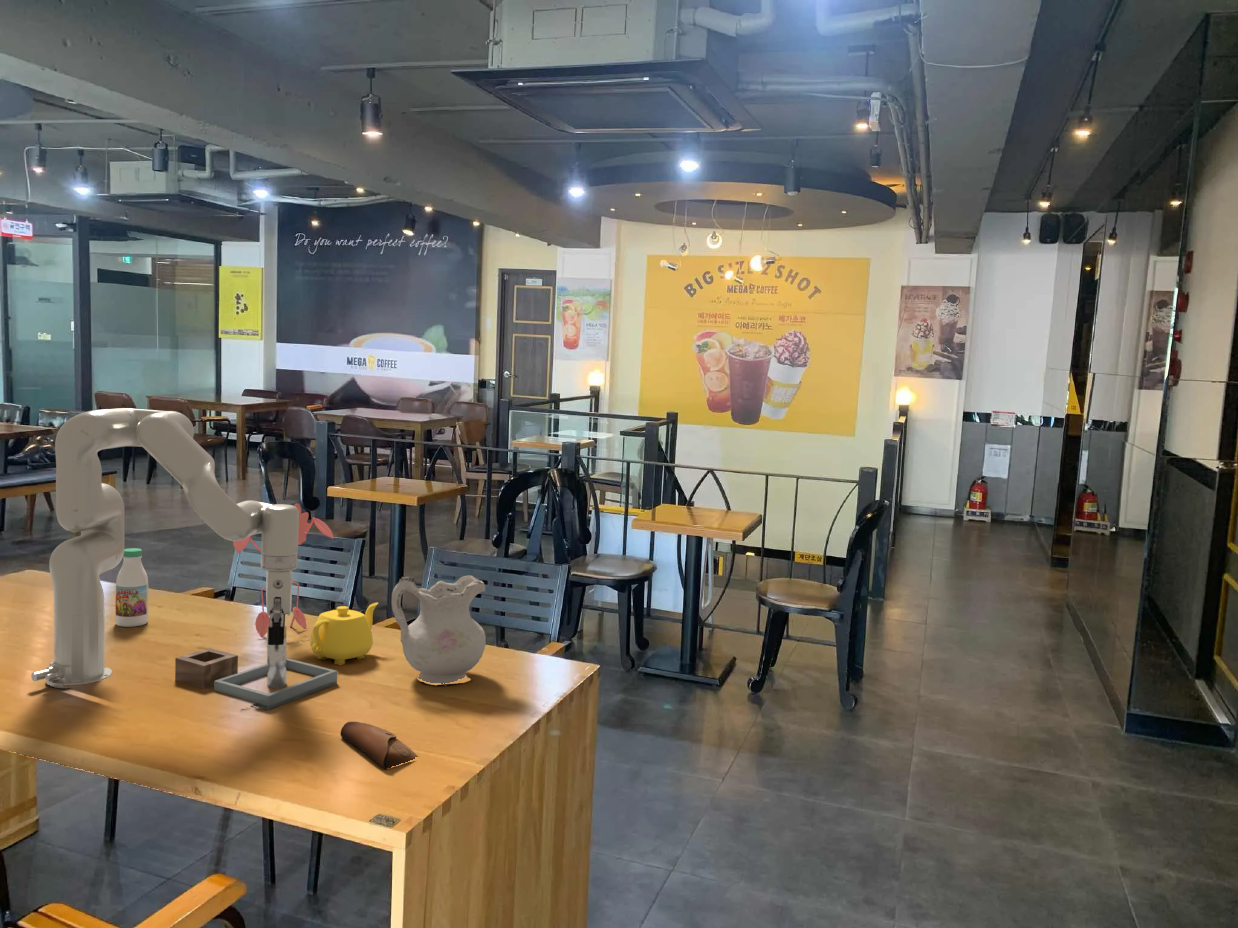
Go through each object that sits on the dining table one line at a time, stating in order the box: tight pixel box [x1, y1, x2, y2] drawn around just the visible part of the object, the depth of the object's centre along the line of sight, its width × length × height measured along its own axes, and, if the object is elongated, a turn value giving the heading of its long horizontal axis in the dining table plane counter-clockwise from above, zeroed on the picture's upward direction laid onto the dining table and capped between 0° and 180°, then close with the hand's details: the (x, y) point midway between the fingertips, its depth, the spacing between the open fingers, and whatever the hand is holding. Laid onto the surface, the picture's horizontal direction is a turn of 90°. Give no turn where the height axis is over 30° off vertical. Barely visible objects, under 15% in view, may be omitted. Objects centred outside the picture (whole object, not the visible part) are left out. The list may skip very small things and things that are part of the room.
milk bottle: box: [115, 547, 149, 628], centre depth 248 cm, size 8×8×20 cm
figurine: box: [232, 503, 335, 645], centre depth 244 cm, size 15×26×35 cm, turn 135°
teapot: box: [310, 601, 379, 665], centre depth 232 cm, size 14×20×13 cm
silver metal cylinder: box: [266, 625, 287, 689], centre depth 207 cm, size 4×4×13 cm
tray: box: [213, 657, 338, 711], centre depth 207 cm, size 20×16×3 cm
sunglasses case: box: [339, 721, 419, 770], centre depth 179 cm, size 18×7×7 cm, turn 42°
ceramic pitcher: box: [391, 575, 487, 684], centre depth 219 cm, size 22×20×25 cm
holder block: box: [174, 647, 239, 689], centre depth 208 cm, size 9×9×6 cm
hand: (276, 637), depth 206 cm, fingers open, 9 cm apart
